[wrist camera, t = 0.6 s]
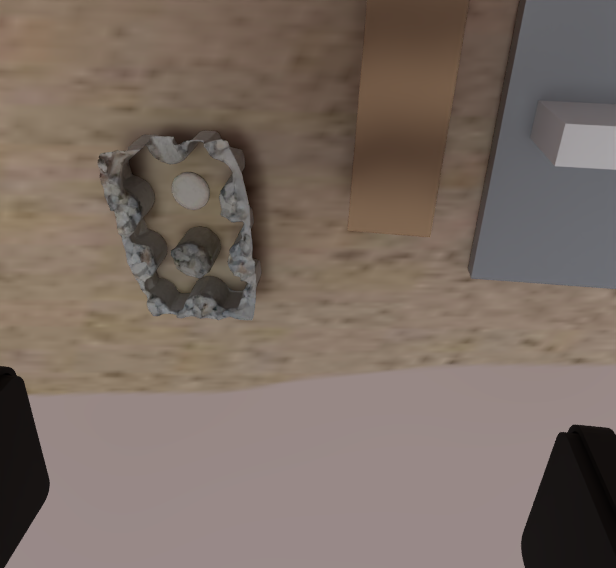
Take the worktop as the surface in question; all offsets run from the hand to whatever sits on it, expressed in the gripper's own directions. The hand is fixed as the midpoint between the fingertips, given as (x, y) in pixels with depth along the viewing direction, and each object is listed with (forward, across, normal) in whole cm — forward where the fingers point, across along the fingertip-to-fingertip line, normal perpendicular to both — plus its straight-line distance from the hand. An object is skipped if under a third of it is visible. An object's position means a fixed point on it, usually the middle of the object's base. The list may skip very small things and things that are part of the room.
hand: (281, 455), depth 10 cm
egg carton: (+23, +8, +6) cm, 25 cm away
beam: (+23, -3, -6) cm, 24 cm away
